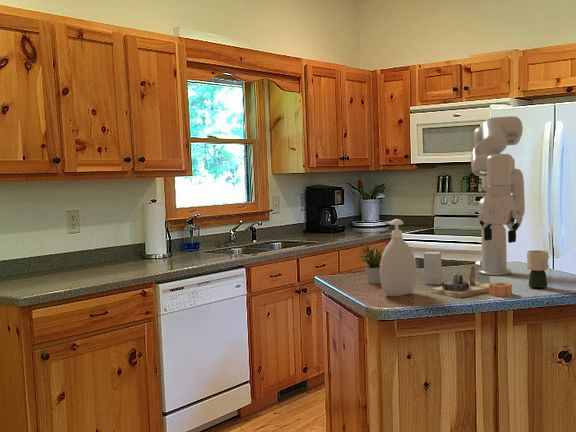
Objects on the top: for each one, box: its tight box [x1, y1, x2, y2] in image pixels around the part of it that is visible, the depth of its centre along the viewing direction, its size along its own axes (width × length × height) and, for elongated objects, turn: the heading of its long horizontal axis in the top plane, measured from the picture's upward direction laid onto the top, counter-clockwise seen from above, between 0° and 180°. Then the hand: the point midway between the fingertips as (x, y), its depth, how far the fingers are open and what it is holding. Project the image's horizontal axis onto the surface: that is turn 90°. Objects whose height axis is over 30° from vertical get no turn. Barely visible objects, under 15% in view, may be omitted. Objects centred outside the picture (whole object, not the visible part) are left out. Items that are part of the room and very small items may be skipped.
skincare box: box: [423, 251, 443, 286], centre depth 225 cm, size 6×4×12 cm
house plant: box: [356, 243, 386, 284], centre depth 233 cm, size 14×14×16 cm
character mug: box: [526, 249, 550, 289], centre depth 210 cm, size 11×7×13 cm, turn 8°
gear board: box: [430, 265, 490, 299], centre depth 210 cm, size 13×20×8 cm, turn 122°
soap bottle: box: [379, 218, 417, 298], centre depth 208 cm, size 14×8×27 cm, turn 113°
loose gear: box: [488, 281, 513, 298], centre depth 202 cm, size 7×7×4 cm
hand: (499, 241), depth 201 cm, fingers open, 9 cm apart
